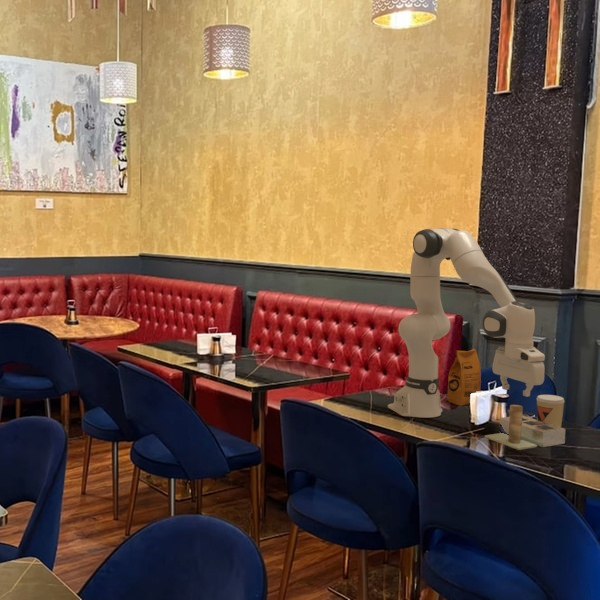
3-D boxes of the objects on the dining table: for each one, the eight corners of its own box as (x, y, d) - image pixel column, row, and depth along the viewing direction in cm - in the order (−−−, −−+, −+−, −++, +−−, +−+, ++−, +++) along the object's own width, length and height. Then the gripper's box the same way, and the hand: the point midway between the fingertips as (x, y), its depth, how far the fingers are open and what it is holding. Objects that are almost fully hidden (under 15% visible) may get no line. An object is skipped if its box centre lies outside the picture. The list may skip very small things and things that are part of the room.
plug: (505, 440, 239) (507, 405, 238) (514, 439, 241) (516, 404, 240) (514, 444, 236) (516, 408, 234) (523, 442, 237) (525, 407, 236)
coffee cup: (529, 428, 258) (531, 395, 257) (550, 426, 261) (552, 393, 260) (547, 435, 249) (548, 401, 248) (568, 433, 252) (570, 399, 251)
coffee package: (443, 401, 297) (445, 348, 295) (466, 398, 303) (468, 347, 301) (459, 406, 288) (461, 352, 286) (483, 403, 294) (485, 350, 292)
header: (499, 431, 252) (500, 417, 252) (520, 428, 257) (521, 415, 256) (542, 447, 235) (543, 432, 234) (564, 443, 239) (565, 428, 239)
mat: (484, 437, 245) (484, 435, 245) (502, 434, 249) (502, 432, 249) (518, 450, 231) (518, 448, 231) (537, 447, 235) (537, 445, 235)
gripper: (489, 346, 243) (486, 386, 245) (534, 357, 225) (531, 400, 227) (503, 345, 246) (500, 385, 248) (549, 356, 228) (545, 399, 230)
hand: (515, 392), depth 237 cm, fingers open, 8 cm apart
